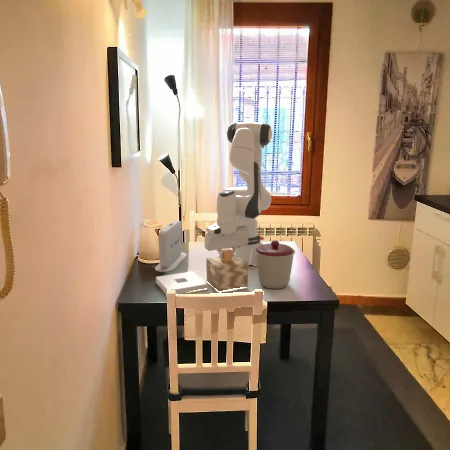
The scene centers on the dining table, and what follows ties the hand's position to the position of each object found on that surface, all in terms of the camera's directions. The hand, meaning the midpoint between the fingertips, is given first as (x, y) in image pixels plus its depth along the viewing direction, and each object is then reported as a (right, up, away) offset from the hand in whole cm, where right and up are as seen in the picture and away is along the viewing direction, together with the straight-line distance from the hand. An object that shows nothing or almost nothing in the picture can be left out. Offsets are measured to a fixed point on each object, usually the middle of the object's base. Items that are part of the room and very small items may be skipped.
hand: (226, 257), depth 206 cm
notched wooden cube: (0, -13, +3) cm, 14 cm away
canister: (+21, -13, +4) cm, 26 cm away
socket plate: (-21, -13, +3) cm, 25 cm away
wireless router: (-29, -5, +36) cm, 47 cm away
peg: (0, -6, +2) cm, 7 cm away
